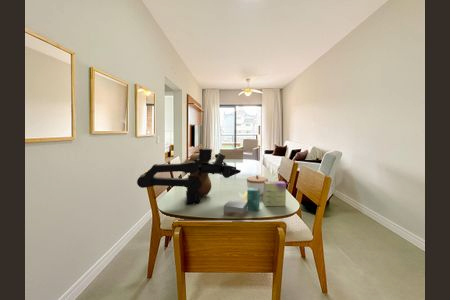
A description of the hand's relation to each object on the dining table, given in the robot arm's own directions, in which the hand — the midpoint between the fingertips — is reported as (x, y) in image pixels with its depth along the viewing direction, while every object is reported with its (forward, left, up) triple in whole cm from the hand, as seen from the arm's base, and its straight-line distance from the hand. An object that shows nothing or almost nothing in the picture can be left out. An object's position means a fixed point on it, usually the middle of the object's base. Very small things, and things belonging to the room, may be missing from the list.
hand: (238, 169), depth 128 cm
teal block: (+2, -17, -17) cm, 24 cm away
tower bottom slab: (-8, -19, -17) cm, 27 cm away
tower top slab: (-8, -19, -15) cm, 25 cm away
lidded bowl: (+15, +7, -17) cm, 24 cm away
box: (+15, -14, -17) cm, 26 cm away
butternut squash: (-19, +13, -17) cm, 29 cm away
